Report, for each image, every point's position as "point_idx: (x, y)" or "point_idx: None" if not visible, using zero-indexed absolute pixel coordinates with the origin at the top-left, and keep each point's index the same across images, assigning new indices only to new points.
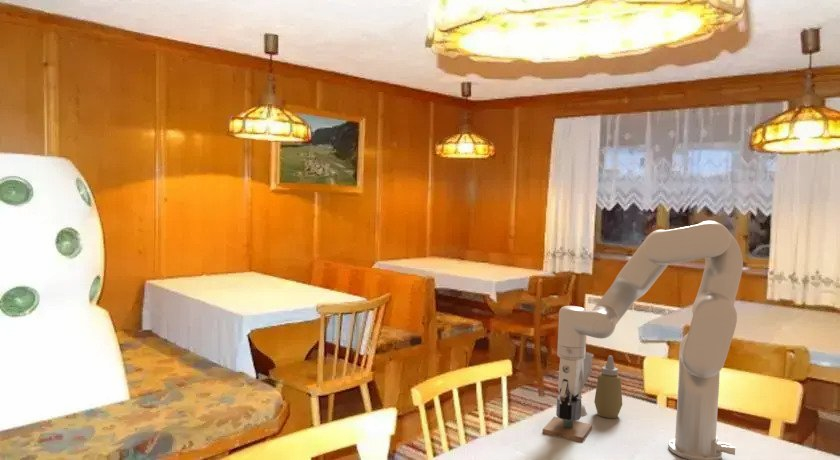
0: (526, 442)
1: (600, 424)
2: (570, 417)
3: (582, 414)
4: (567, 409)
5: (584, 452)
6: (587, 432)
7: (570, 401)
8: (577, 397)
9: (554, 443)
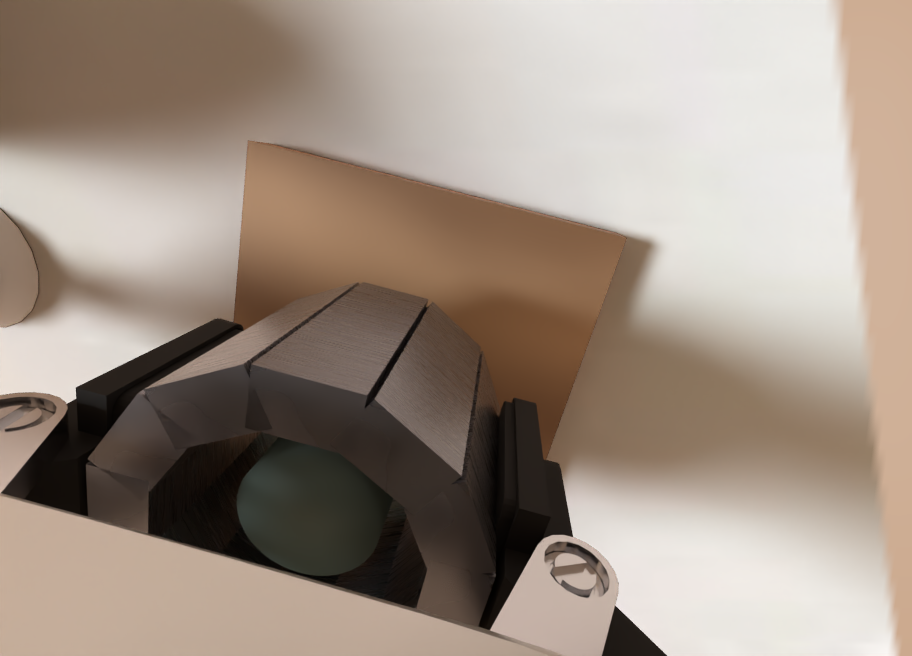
0: (710, 606)
1: (127, 61)
2: (533, 417)
3: (3, 230)
4: (567, 525)
5: (854, 219)
6: (448, 191)
7: (576, 605)
8: (137, 427)
9: (692, 445)
